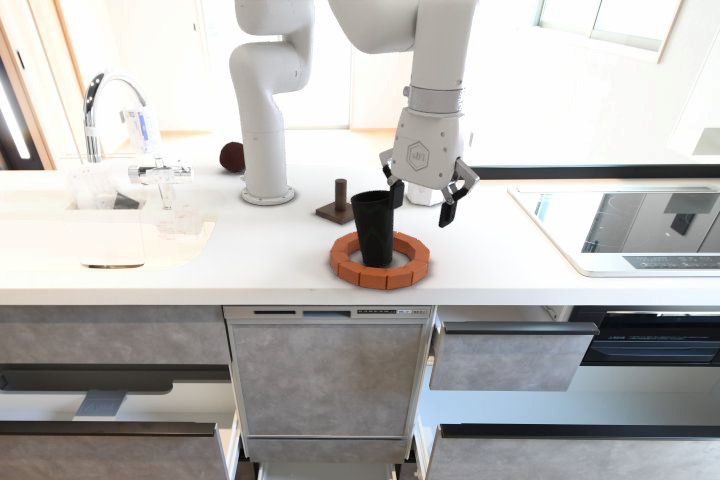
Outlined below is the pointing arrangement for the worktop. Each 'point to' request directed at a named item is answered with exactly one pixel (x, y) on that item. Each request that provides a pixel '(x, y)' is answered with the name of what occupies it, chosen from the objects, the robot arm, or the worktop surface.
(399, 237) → the ring
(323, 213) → the stand
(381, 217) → the cup
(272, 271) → the worktop surface
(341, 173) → the worktop surface
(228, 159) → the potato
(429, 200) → the jar
